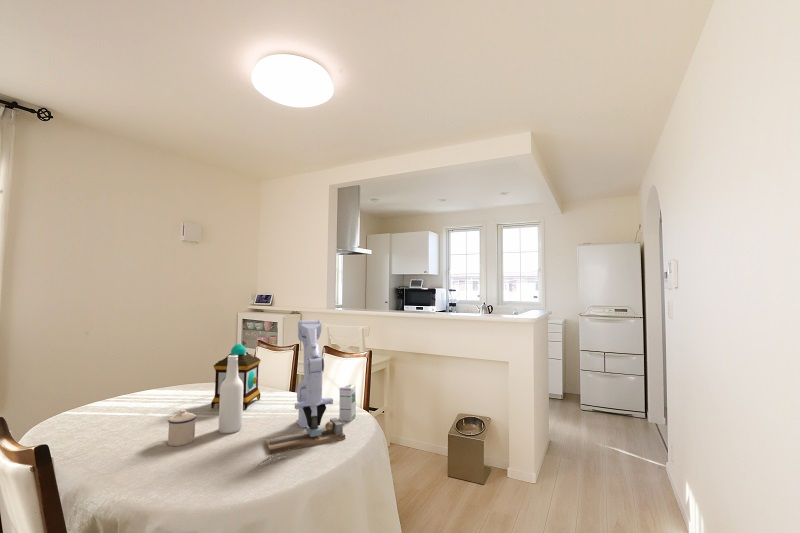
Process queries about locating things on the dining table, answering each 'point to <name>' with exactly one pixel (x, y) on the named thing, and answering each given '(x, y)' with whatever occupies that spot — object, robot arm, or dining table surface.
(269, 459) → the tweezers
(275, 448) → the press bench
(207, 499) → the dining table surface
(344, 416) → the syrup box
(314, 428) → the handle
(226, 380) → the alcohol
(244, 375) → the decorative lantern
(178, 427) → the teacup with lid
